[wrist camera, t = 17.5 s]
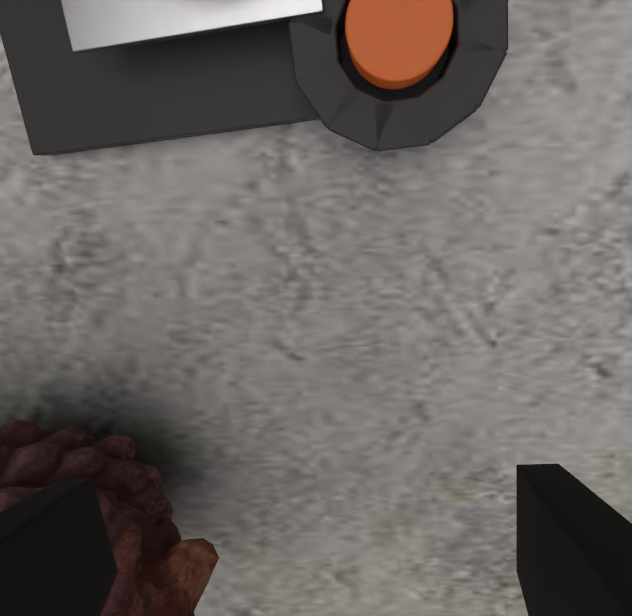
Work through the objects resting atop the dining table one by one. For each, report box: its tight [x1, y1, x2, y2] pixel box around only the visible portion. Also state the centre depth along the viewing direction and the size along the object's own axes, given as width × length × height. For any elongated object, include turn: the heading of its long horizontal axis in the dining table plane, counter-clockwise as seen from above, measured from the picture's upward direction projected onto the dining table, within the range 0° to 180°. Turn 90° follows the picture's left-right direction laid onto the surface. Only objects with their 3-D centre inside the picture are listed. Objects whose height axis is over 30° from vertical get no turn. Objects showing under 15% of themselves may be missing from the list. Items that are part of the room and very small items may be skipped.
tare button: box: [345, 0, 453, 90], centre depth 12 cm, size 2×2×2 cm
